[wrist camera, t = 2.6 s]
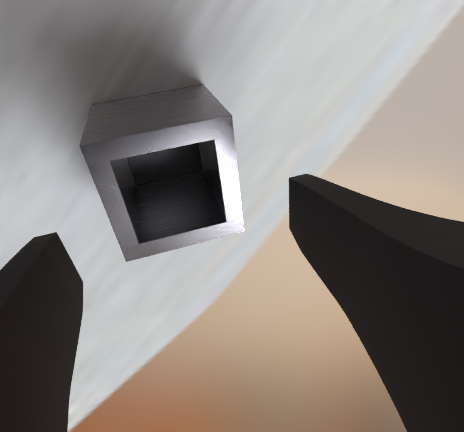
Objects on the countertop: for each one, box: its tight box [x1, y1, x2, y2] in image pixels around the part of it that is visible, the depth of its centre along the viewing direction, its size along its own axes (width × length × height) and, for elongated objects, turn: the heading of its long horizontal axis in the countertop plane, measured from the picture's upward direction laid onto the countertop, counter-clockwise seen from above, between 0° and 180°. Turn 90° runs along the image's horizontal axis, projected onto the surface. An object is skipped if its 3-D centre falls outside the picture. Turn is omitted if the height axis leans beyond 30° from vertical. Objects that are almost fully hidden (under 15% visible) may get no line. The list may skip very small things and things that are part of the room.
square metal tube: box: [80, 85, 244, 262], centre depth 14 cm, size 5×5×5 cm
